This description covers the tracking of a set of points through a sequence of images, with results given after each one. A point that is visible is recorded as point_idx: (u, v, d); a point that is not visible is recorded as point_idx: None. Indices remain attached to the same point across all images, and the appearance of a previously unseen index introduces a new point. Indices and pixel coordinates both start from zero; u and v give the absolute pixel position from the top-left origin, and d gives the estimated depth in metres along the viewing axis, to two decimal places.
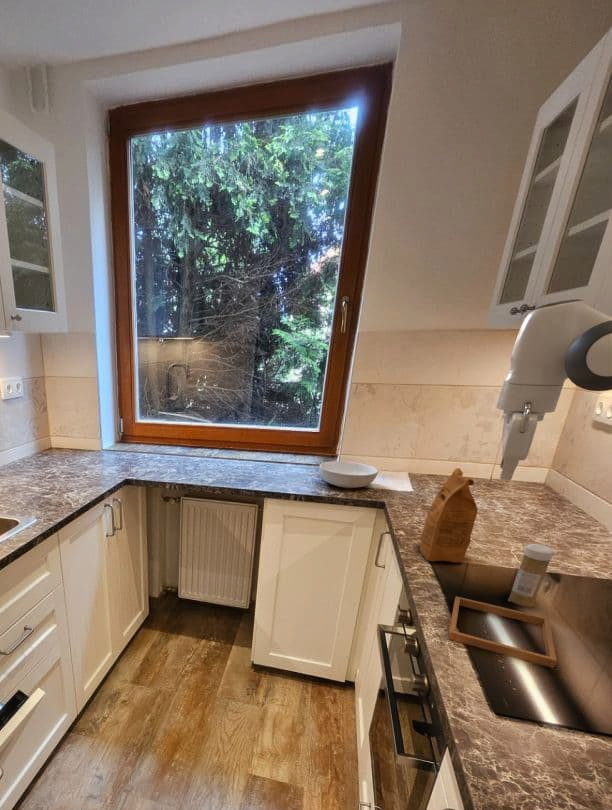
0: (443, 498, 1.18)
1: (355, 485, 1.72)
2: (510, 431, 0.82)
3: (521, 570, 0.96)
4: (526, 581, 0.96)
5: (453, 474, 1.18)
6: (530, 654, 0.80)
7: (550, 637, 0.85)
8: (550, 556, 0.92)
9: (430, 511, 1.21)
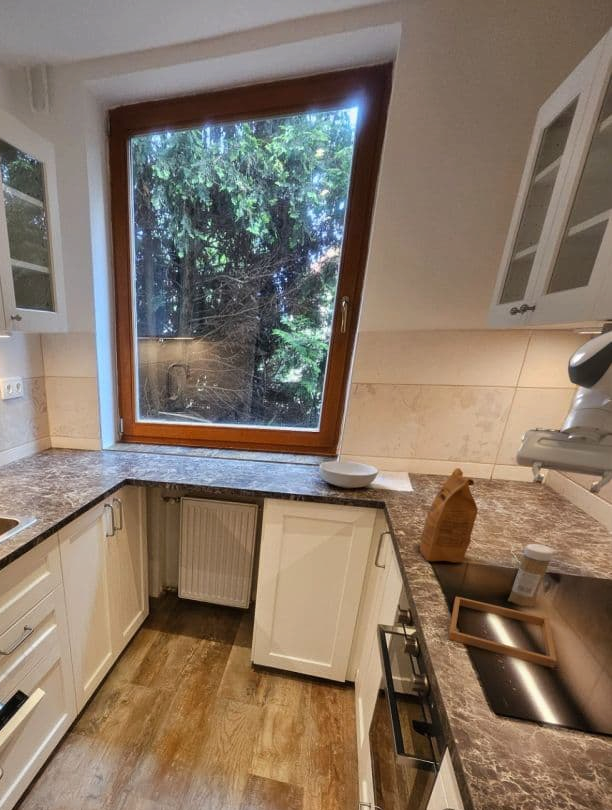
0: (443, 498, 1.18)
1: (355, 485, 1.72)
2: None
3: (521, 570, 0.96)
4: (526, 581, 0.96)
5: (453, 474, 1.18)
6: (530, 654, 0.80)
7: (550, 637, 0.85)
8: (550, 556, 0.92)
9: (430, 511, 1.21)
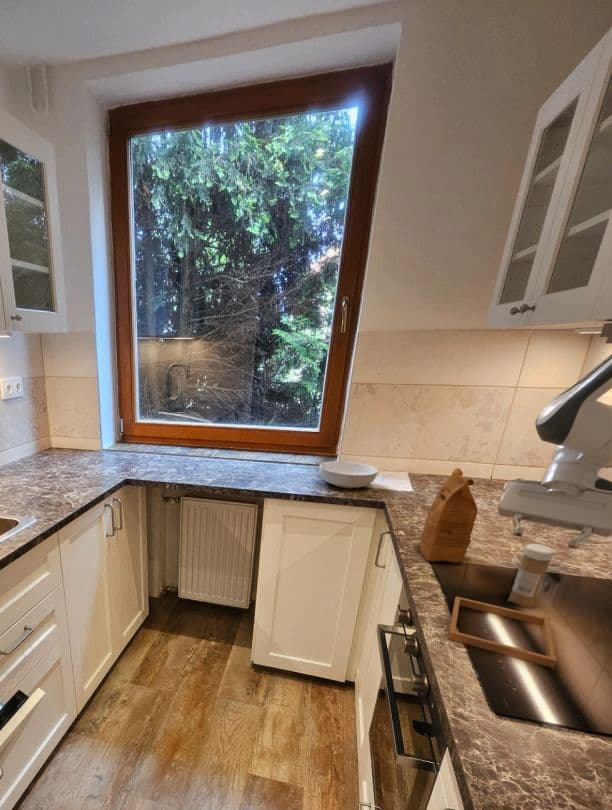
0: (443, 498, 1.18)
1: (355, 485, 1.72)
2: None
3: (521, 570, 0.96)
4: (526, 581, 0.96)
5: (453, 474, 1.18)
6: (530, 654, 0.80)
7: (550, 637, 0.85)
8: (550, 556, 0.92)
9: (430, 511, 1.21)
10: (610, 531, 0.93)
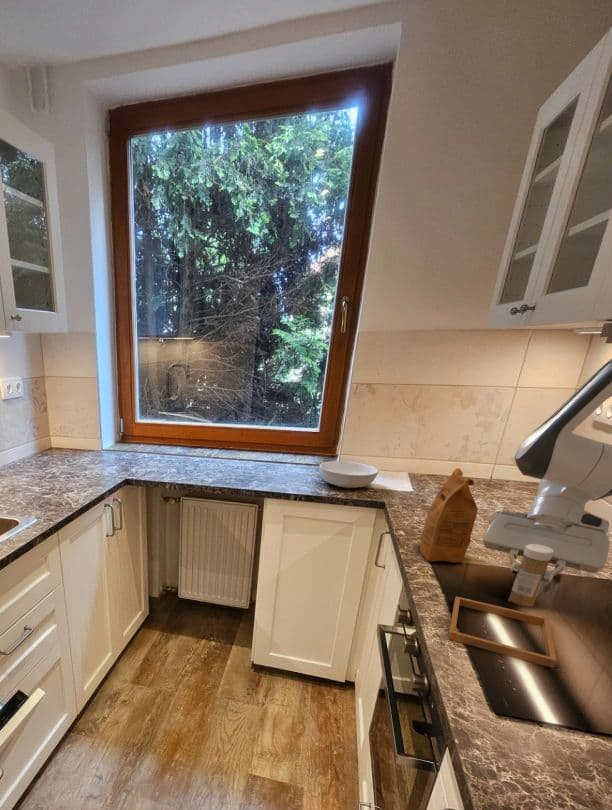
0: (443, 498, 1.18)
1: (355, 485, 1.72)
2: None
3: (521, 570, 0.96)
4: (526, 581, 0.96)
5: (453, 474, 1.18)
6: (530, 654, 0.80)
7: (550, 637, 0.85)
8: (550, 556, 0.92)
9: (430, 511, 1.21)
10: (597, 568, 0.91)
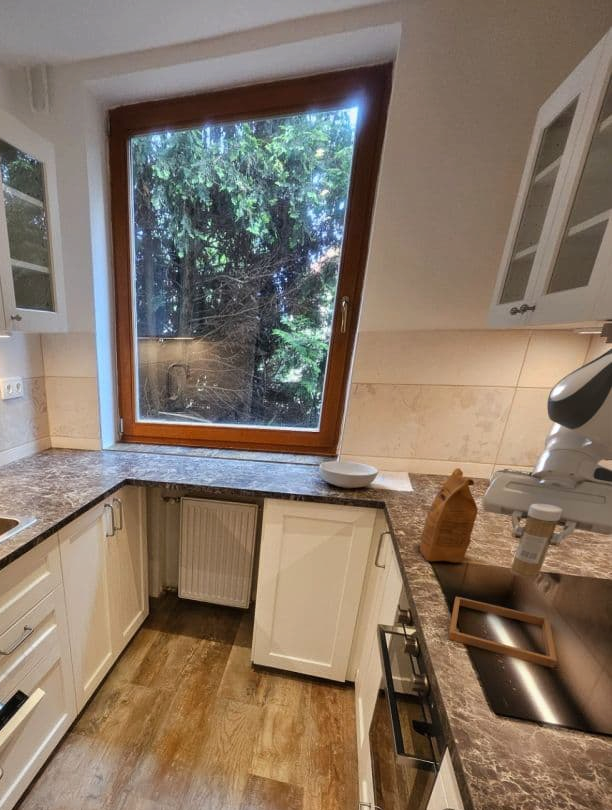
0: (443, 498, 1.18)
1: (355, 485, 1.72)
2: None
3: (525, 533, 0.85)
4: (530, 545, 0.85)
5: (453, 474, 1.18)
6: (530, 654, 0.80)
7: (550, 637, 0.85)
8: (558, 515, 0.81)
9: (430, 511, 1.21)
10: None
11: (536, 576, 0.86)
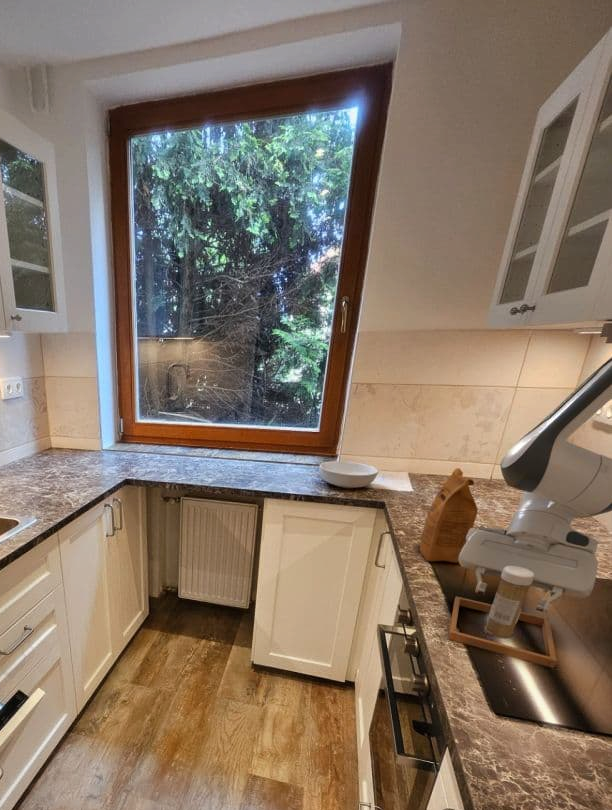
0: (443, 498, 1.18)
1: (355, 485, 1.72)
2: None
3: (498, 595, 0.86)
4: (503, 608, 0.85)
5: (453, 474, 1.18)
6: (530, 654, 0.80)
7: (550, 637, 0.85)
8: (530, 580, 0.82)
9: (430, 511, 1.21)
10: (583, 594, 0.80)
11: (509, 637, 0.87)
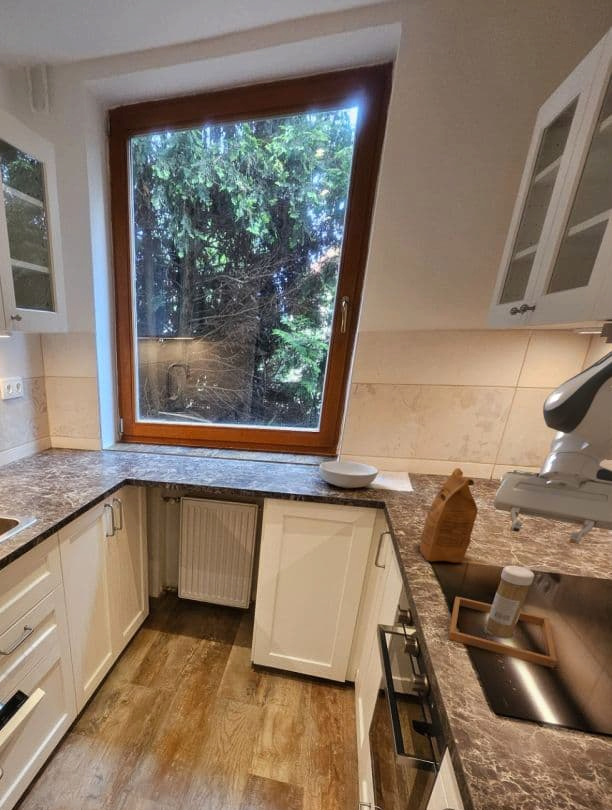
0: (443, 498, 1.18)
1: (355, 485, 1.72)
2: None
3: (498, 595, 0.86)
4: (503, 608, 0.85)
5: (453, 474, 1.18)
6: (530, 654, 0.80)
7: (550, 637, 0.85)
8: (530, 580, 0.82)
9: (430, 511, 1.21)
10: None
11: (509, 637, 0.87)
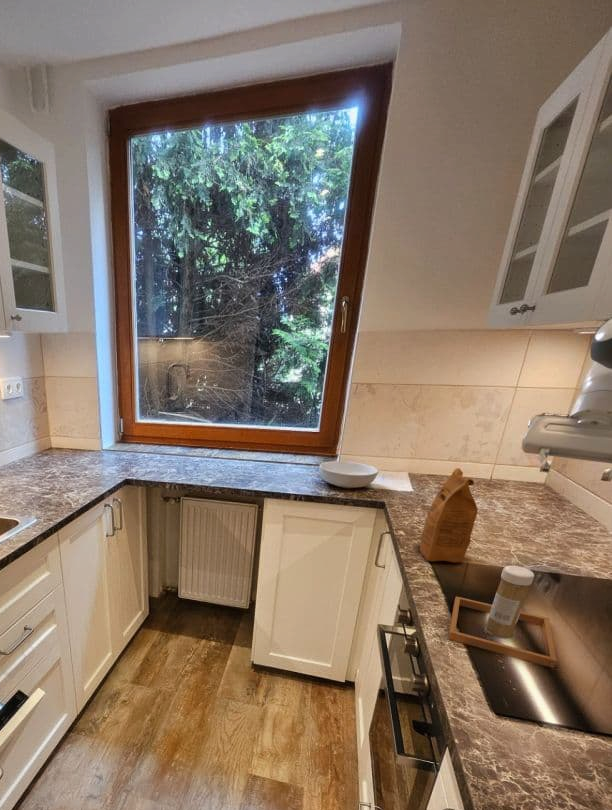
0: (443, 498, 1.18)
1: (355, 485, 1.72)
2: None
3: (498, 595, 0.86)
4: (503, 608, 0.85)
5: (453, 474, 1.18)
6: (530, 654, 0.80)
7: (550, 637, 0.85)
8: (530, 580, 0.82)
9: (430, 511, 1.21)
10: None
11: (509, 637, 0.87)
